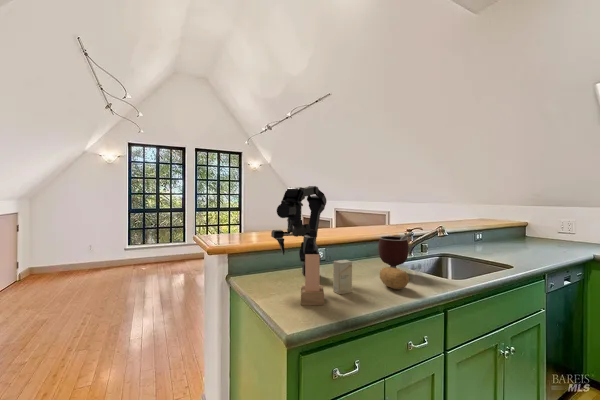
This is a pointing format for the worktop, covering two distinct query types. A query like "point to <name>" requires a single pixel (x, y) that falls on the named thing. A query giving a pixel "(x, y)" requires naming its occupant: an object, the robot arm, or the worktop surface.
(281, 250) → the robot arm
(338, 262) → the skincare box
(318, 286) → the block
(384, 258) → the mate gourd
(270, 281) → the worktop surface
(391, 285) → the potato
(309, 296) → the plinth
